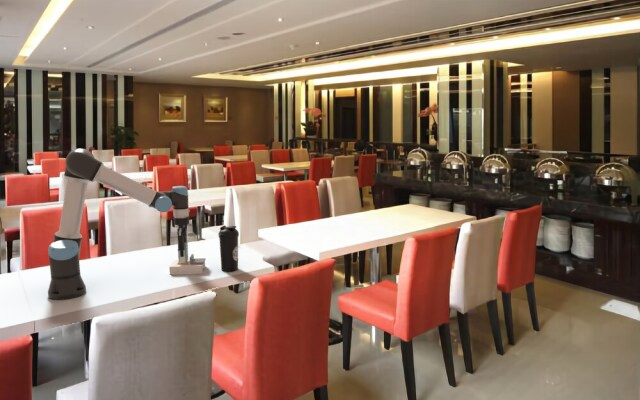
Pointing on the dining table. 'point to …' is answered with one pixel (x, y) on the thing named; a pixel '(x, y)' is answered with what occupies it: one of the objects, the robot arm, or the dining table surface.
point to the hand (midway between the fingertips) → (183, 260)
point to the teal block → (185, 254)
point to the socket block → (186, 268)
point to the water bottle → (229, 248)
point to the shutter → (196, 260)
